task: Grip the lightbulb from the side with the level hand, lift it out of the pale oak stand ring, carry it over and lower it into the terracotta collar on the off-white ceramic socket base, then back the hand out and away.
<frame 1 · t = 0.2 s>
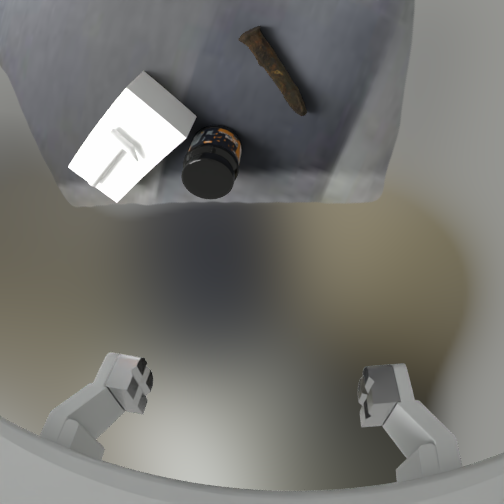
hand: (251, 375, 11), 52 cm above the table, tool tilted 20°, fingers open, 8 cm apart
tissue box: (134, 129, 60), on the table
hand tool: (281, 68, 48), on the table
supplement container: (217, 143, 62), on the table
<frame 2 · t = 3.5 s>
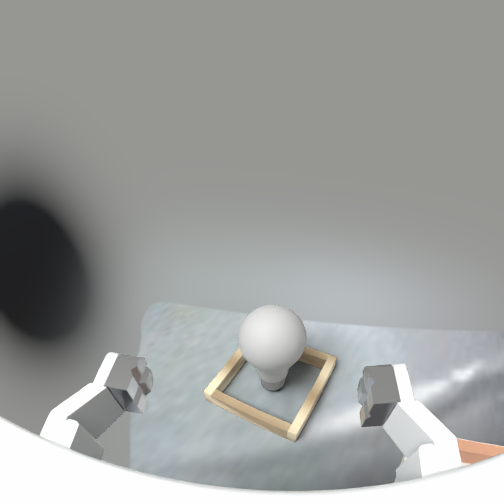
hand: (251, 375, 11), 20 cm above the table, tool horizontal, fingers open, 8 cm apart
stand ring: (273, 384, 32), on the table
socket: (451, 503, 17), on the table
lightbulb: (273, 385, 32), resting in stand ring
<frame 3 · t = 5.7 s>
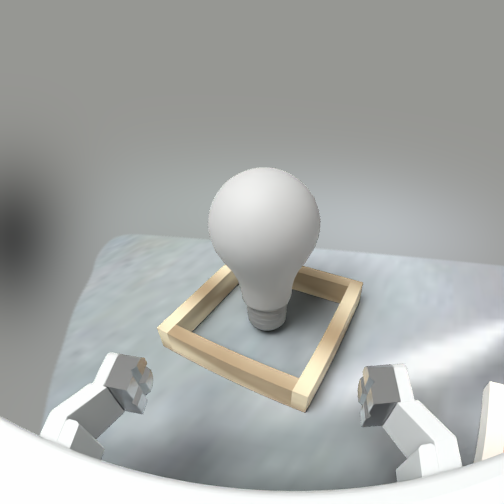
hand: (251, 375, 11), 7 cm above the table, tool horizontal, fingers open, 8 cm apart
stand ring: (267, 324, 22), on the table
lightbulb: (267, 326, 22), resting in stand ring
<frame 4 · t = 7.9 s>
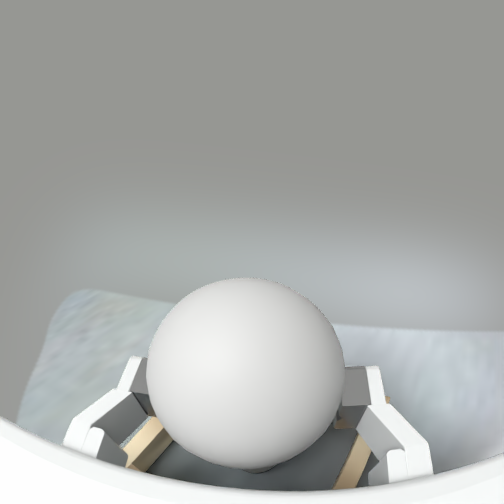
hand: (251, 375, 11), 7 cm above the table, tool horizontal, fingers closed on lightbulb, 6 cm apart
stand ring: (256, 455, 14), on the table
lightbulb: (256, 457, 14), resting in stand ring, touching gripper
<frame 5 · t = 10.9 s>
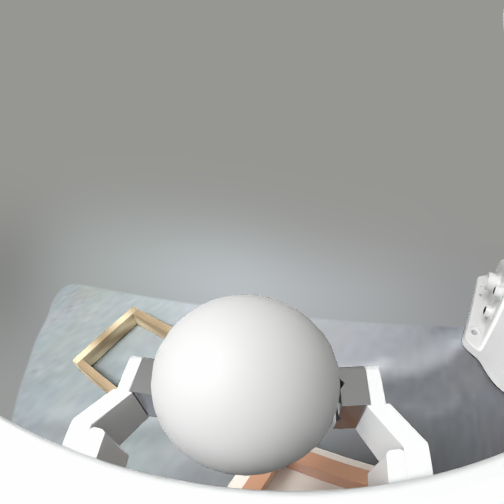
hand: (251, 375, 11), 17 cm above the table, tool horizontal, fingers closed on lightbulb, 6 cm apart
stand ring: (137, 361, 31), on the table
lightbulb: (253, 458, 14), point 9 cm above the table, touching gripper
when the fingers open (9 cm above the table, at t = 13.8 s): lightbulb moves 1 cm, resting on socket.
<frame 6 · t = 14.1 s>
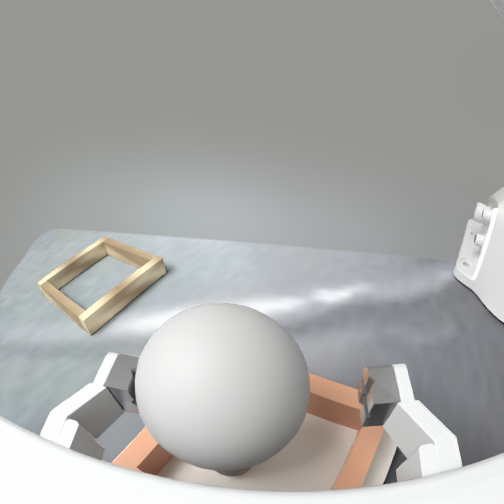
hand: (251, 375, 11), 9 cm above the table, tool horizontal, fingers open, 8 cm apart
stand ring: (100, 284, 30), on the table
socket: (258, 467, 15), on the table
lightbulb: (232, 462, 15), point 1 cm above the table, touching gripper, socket
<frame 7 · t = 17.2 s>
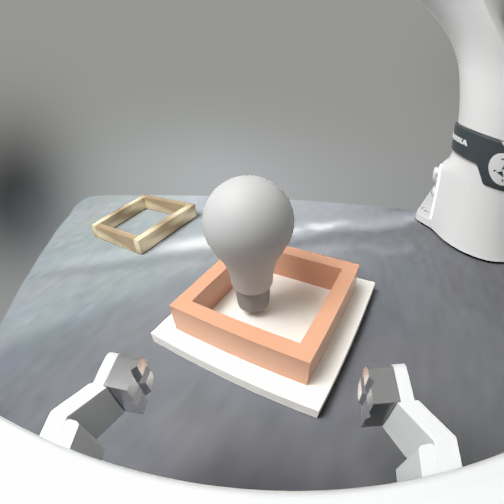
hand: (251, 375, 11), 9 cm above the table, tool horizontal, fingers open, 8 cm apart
stand ring: (144, 226, 41), on the table
socket: (271, 317, 26), on the table
lightbulb: (254, 310, 25), point 1 cm above the table, touching socket
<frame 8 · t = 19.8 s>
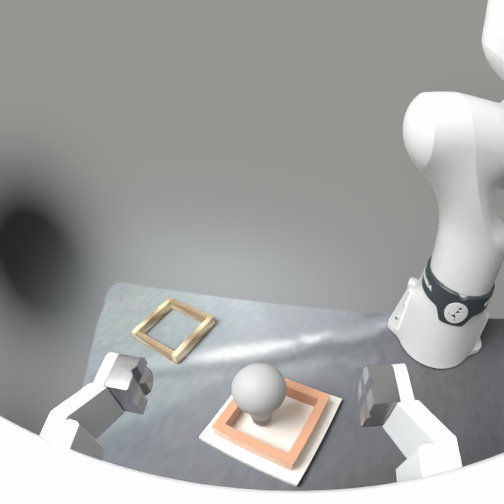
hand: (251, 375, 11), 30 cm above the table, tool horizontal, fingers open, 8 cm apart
stand ring: (174, 331, 52), on the table
socket: (273, 423, 37), on the table
lightbulb: (262, 420, 37), point 1 cm above the table, touching socket
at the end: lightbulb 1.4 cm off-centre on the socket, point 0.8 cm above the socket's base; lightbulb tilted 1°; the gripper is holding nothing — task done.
